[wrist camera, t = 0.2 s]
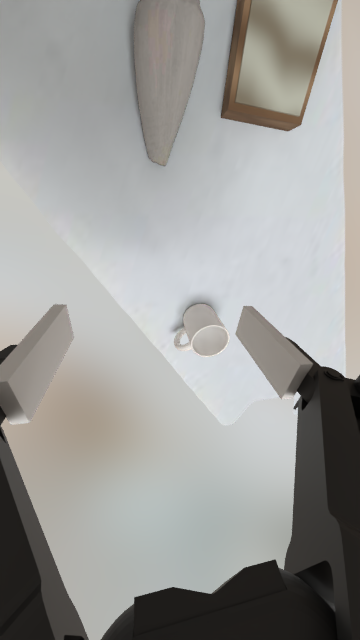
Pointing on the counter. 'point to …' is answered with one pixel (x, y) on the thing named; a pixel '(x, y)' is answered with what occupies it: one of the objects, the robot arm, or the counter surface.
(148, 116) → the seashell
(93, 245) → the counter surface
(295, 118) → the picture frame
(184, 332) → the mug
